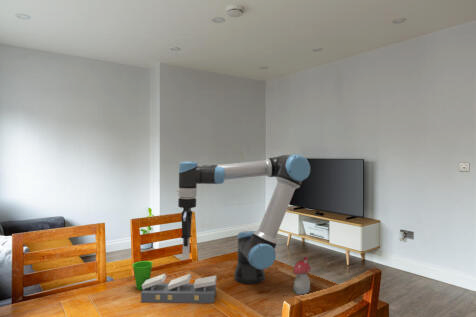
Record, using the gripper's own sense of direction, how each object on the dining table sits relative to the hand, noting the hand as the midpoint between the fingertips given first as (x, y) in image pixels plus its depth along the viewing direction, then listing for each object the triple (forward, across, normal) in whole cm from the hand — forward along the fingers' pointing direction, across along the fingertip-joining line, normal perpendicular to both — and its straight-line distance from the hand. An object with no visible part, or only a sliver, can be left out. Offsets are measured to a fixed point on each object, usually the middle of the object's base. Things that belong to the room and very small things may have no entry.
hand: (186, 253), depth 133 cm
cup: (+20, -10, -21) cm, 30 cm away
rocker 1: (+13, -1, -13) cm, 18 cm away
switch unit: (+19, 0, -2) cm, 19 cm away
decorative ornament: (+18, -7, +51) cm, 54 cm away
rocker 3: (+12, 0, +9) cm, 15 cm away
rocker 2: (+12, 0, -2) cm, 13 cm away
